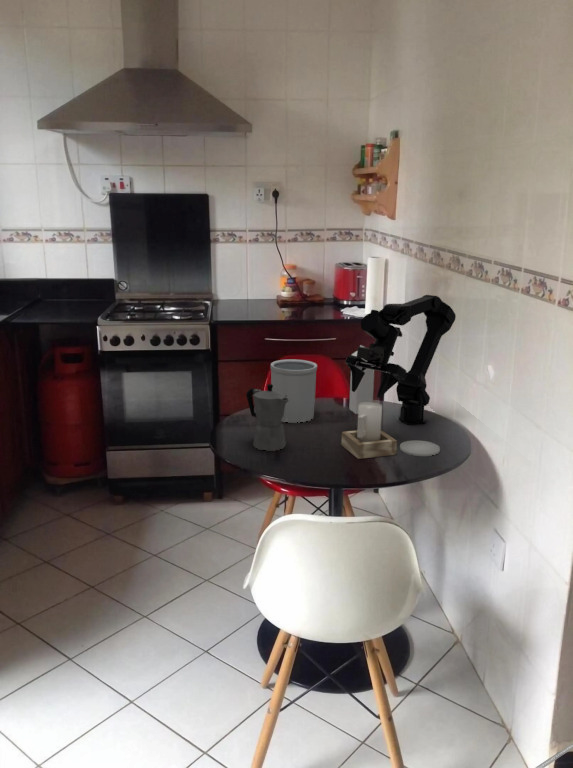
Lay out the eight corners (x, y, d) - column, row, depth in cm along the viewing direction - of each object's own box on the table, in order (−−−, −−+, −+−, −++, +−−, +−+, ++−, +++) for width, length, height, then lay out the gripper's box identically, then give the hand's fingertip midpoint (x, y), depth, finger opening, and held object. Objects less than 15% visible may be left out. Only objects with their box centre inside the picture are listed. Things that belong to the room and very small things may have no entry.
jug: (362, 444, 192) (364, 400, 188) (383, 448, 188) (385, 404, 185) (347, 454, 184) (349, 408, 181) (368, 458, 181) (371, 412, 177)
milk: (355, 414, 220) (357, 348, 215) (349, 409, 226) (351, 345, 220) (372, 413, 222) (375, 347, 216) (365, 407, 227) (368, 344, 222)
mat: (426, 441, 195) (427, 438, 195) (447, 454, 185) (447, 451, 185) (392, 445, 191) (393, 442, 191) (412, 458, 181) (412, 455, 181)
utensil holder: (325, 417, 216) (326, 364, 212) (293, 427, 206) (294, 371, 202) (292, 407, 226) (293, 357, 222) (260, 416, 216) (260, 363, 212)
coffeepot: (298, 447, 189) (299, 385, 184) (275, 455, 182) (276, 391, 177) (258, 435, 198) (258, 376, 194) (235, 442, 191) (235, 381, 187)
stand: (377, 441, 194) (378, 428, 193) (396, 454, 184) (396, 440, 183) (341, 445, 191) (341, 431, 190) (358, 458, 180) (358, 444, 179)
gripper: (344, 330, 196) (325, 379, 194) (396, 338, 183) (377, 391, 181) (364, 344, 204) (346, 391, 202) (415, 353, 191) (397, 404, 189)
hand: (365, 394), depth 193 cm, fingers open, 9 cm apart
